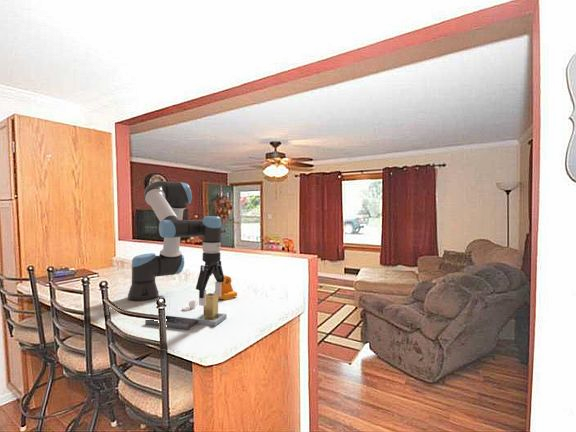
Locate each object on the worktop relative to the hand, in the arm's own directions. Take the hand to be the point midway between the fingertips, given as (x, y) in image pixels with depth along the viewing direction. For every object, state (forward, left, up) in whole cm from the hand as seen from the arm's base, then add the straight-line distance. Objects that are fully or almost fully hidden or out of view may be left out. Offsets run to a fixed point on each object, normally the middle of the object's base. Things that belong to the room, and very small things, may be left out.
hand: (210, 300), depth 131 cm
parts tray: (0, 0, -9) cm, 9 cm away
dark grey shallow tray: (-13, -9, -9) cm, 18 cm away
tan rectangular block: (0, 0, -8) cm, 8 cm away
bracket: (-10, +35, -9) cm, 37 cm away
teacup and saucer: (-20, +12, -9) cm, 25 cm away
